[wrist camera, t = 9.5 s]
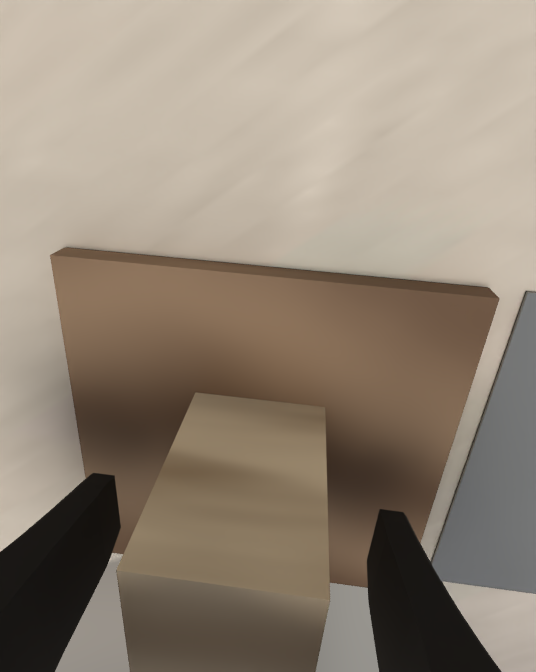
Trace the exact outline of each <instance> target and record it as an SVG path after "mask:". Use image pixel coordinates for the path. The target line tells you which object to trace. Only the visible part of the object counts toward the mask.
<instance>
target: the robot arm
mask: <svg viewBox="0 0 536 672" xmlns="http://www.w3.org/2000/svg"><path fill="white" fill-rule="evenodd" d="M120 529H121V524H120V516H119V507H118V499H117V491H116V482H115V475H107V474H100V473H92V474H91V475H89V476H88V477H87V478H86V479H85V480H84V481H83V482H82V483H80V484H79V485H78V486H77V487H76V488H75V489H74V490H73V491H72V492H70V493H69V494H68V495H67V496H66V497H65V498H64V499H63V500H62V501H60V502H59V503H58V504H57V505H56V506H55V507H54V508H53V509H51V510H50V511H49V512H48V513H47V514H46V515H45V516H43V517H42V518H41V519H40V520H39V521H37V522H36V523H35V524H34V525H33V526H32V527H30V528H29V529H28V530H27V531H26V532H25V533H23V534H22V535H21V536H20V537H19V538H17V539H16V540H15V541H14V542H12V543H11V544H10V545H9V546H7V547H6V548H5V549H3V550H2V551H1V552H0V672H55V670H56V668H57V666H58V663H59V661H60V659H61V657H62V655H63V653H64V651H65V648H66V647H67V645H68V642H69V641H70V639H71V637H72V635H73V633H74V631H75V629H76V627H77V625H78V623H79V621H80V619H81V617H82V615H83V613H84V611H85V609H86V607H87V605H88V603H89V601H90V599H91V597H92V595H93V593H94V591H95V589H96V587H97V585H98V583H99V581H100V579H101V577H102V575H103V573H104V571H105V569H106V567H107V564H108V562H109V559H110V556H111V554H112V551H113V549H114V546H115V543H116V540H117V537H118V535H119V532H120ZM367 580H368V599H369V607H370V615H371V621H372V628H373V634H374V640H375V647H376V654H377V660H378V667H379V672H501V670H500V669H499V668H498V666H497V665H496V664H495V662H494V661H493V660H492V658H491V657H490V655H489V654H488V653H487V651H486V650H485V648H484V647H483V645H482V644H481V642H480V641H479V640H478V638H477V637H476V635H475V634H474V632H473V631H472V629H471V628H470V626H469V625H468V623H467V622H466V620H465V619H464V617H463V616H462V614H461V612H460V611H459V609H458V608H457V606H456V604H455V603H454V601H453V600H452V598H451V596H450V595H449V593H448V591H447V590H446V588H445V586H444V585H443V583H442V581H441V580H440V578H439V576H438V575H437V573H436V571H435V569H434V568H433V566H432V564H431V562H430V561H429V559H428V557H427V555H426V553H425V551H424V550H423V548H422V546H421V544H420V542H419V540H418V538H417V536H416V534H415V532H414V530H413V528H412V526H411V524H410V522H409V520H408V518H407V516H406V515H405V514H404V512H400V511H392V510H384V509H379V513H378V517H377V521H376V525H375V529H374V533H373V537H372V541H371V545H370V549H369V553H368V557H367Z"/></svg>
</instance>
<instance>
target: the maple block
mask: <svg viewBox="0 0 536 672" xmlns="http://www.w3.org/2000/svg"><path fill="white" fill-rule="evenodd" d="M116 572H117V579H118V587H119V593H120V601H121V608H122V616H123V623H124V631H125V637H126V645H127V653H128V660H129V667H130V672H315V671H316V666H317V661H318V656H319V651H320V647H321V642H322V637H323V632H324V627H325V622H326V617H327V612H328V607H329V603H330V578H329V538H328V498H327V458H326V419H325V407H319V406H310V405H301V404H293V403H284V402H275V401H266V400H257V399H248V398H240V397H231V396H222V395H213V394H204V393H195V395H194V397H193V399H192V401H191V404H190V406H189V408H188V410H187V413H186V415H185V417H184V419H183V422H182V424H181V426H180V428H179V431H178V433H177V435H176V437H175V440H174V442H173V444H172V446H171V449H170V451H169V453H168V455H167V458H166V460H165V462H164V464H163V467H162V469H161V471H160V473H159V476H158V478H157V480H156V482H155V485H154V487H153V489H152V491H151V494H150V496H149V498H148V500H147V503H146V505H145V507H144V509H143V512H142V514H141V516H140V518H139V521H138V523H137V525H136V527H135V530H134V532H133V534H132V536H131V539H130V541H129V543H128V545H127V548H126V550H125V552H124V554H123V556H122V559H121V561H120V563H119V565H118V568H117V570H116Z"/></svg>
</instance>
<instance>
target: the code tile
mask: <svg viewBox="0 0 536 672" xmlns="http://www.w3.org/2000/svg"><path fill="white" fill-rule="evenodd" d="M431 564H432V566H433V568H434V569H435V571H436V573H437V575H438V576H439V578H440V580H441V581H445V582H452V583H459V584H467V585H474V586H482V587H489V588H496V589H504V590H511V591H518V592H526V593H533V594H536V292H528V291H526V294H525V297H524V300H523V302H522V305H521V308H520V311H519V314H518V317H517V320H516V322H515V325H514V328H513V331H512V334H511V337H510V340H509V342H508V345H507V348H506V351H505V354H504V357H503V360H502V362H501V365H500V368H499V371H498V374H497V377H496V379H495V382H494V385H493V388H492V391H491V394H490V397H489V399H488V402H487V405H486V408H485V411H484V414H483V417H482V419H481V422H480V425H479V428H478V431H477V434H476V436H475V439H474V442H473V445H472V448H471V451H470V454H469V456H468V459H467V462H466V465H465V468H464V471H463V474H462V476H461V479H460V482H459V485H458V488H457V491H456V494H455V496H454V499H453V502H452V505H451V508H450V511H449V513H448V516H447V519H446V522H445V525H444V528H443V531H442V533H441V536H440V539H439V542H438V545H437V548H436V551H435V553H434V556H433V559H432V562H431Z"/></svg>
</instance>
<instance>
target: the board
mask: <svg viewBox="0 0 536 672" xmlns="http://www.w3.org/2000/svg"><path fill="white" fill-rule="evenodd" d="M50 257H51V264H52V270H53V276H54V283H55V289H56V295H57V301H58V308H59V314H60V320H61V326H62V333H63V339H64V345H65V351H66V358H67V364H68V370H69V376H70V383H71V389H72V395H73V401H74V408H75V414H76V420H77V427H78V433H79V439H80V445H81V452H82V458H83V464H84V470H85V477H86V478H87V477H88V476H89V475H91V474H92V473H100V474H107V475H115V482H116V491H117V499H118V507H119V516H120V524H121V529H120V532H119V535H118V537H117V540H116V543H115V546H114V549H113V551H112V553H119V554H124V552H125V550H126V548H127V545H128V543H129V541H130V539H131V536H132V534H133V532H134V530H135V527H136V525H137V523H138V521H139V518H140V516H141V514H142V512H143V509H144V507H145V505H146V503H147V500H148V498H149V496H150V494H151V491H152V489H153V487H154V485H155V482H156V480H157V478H158V476H159V473H160V471H161V469H162V467H163V464H164V462H165V460H166V458H167V455H168V453H169V451H170V449H171V446H172V444H173V442H174V440H175V437H176V435H177V433H178V431H179V428H180V426H181V424H182V422H183V419H184V417H185V415H186V413H187V410H188V408H189V406H190V404H191V401H192V399H193V397H194V395H195V393H204V394H213V395H222V396H231V397H240V398H248V399H257V400H266V401H275V402H284V403H293V404H301V405H310V406H319V407H325V419H326V458H327V498H328V538H329V578H330V583H337V584H345V585H352V586H359V587H367V588H368V580H367V557H368V553H369V549H370V545H371V541H372V537H373V533H374V529H375V525H376V521H377V517H378V513H379V509H384V510H392V511H400V512H404V514H405V515H406V516H407V518H408V520H409V522H410V524H411V526H412V528H413V530H414V532H415V534H416V536H417V538H418V540H419V542H421V539H422V536H423V533H424V530H425V527H426V524H427V521H428V518H429V515H430V511H431V508H432V505H433V502H434V499H435V496H436V493H437V490H438V487H439V484H440V481H441V477H442V474H443V471H444V468H445V465H446V462H447V459H448V456H449V453H450V450H451V447H452V444H453V440H454V437H455V434H456V431H457V428H458V425H459V422H460V419H461V416H462V413H463V410H464V407H465V403H466V400H467V397H468V394H469V391H470V388H471V385H472V382H473V379H474V376H475V373H476V369H477V366H478V363H479V360H480V357H481V354H482V351H483V348H484V345H485V342H486V339H487V336H488V332H489V329H490V326H491V323H492V320H493V317H494V314H495V311H496V308H497V305H498V302H499V298H498V297H497V296H496V295H495V294H494V293H493V292H492V291H491V290H490V289H489V288H486V287H475V286H465V285H454V284H444V283H433V282H423V281H412V280H402V279H391V278H381V277H370V276H360V275H349V274H338V273H328V272H317V271H307V270H296V269H286V268H275V267H265V266H254V265H244V264H233V263H223V262H212V261H202V260H191V259H181V258H170V257H160V256H149V255H139V254H128V253H118V252H107V251H97V250H86V249H76V248H63V249H61V250H59V251H57V252H55V253H53V254H51V255H50Z"/></svg>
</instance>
